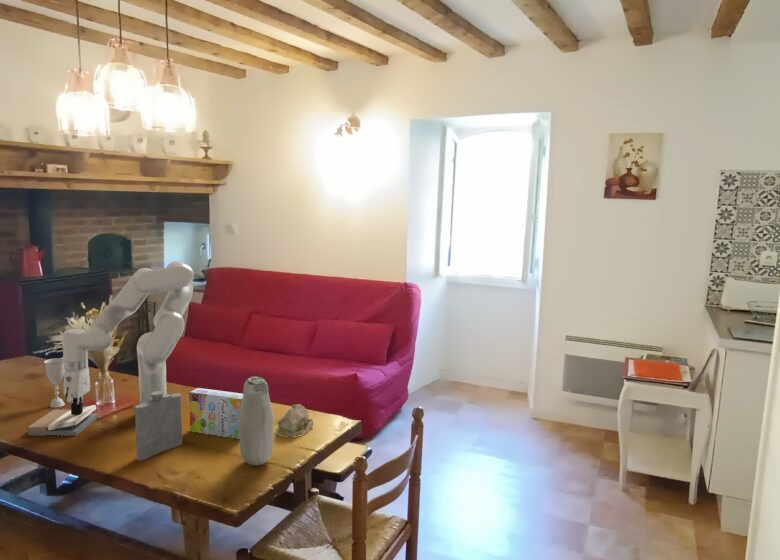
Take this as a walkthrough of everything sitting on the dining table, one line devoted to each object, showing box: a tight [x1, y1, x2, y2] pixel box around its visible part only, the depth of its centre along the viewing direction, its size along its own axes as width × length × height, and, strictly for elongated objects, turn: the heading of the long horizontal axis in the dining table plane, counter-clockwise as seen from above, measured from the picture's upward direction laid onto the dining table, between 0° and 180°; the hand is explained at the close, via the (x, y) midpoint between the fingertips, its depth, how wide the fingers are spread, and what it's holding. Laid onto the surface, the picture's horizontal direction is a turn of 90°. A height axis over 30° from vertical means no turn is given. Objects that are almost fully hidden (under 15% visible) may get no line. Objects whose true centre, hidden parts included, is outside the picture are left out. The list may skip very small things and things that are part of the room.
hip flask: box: [134, 391, 183, 462], centre depth 181 cm, size 16×4×20 cm, turn 146°
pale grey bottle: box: [239, 376, 274, 466], centre depth 174 cm, size 10×10×28 cm
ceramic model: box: [274, 403, 314, 438], centre depth 201 cm, size 14×11×10 cm
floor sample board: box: [27, 409, 99, 437], centre depth 198 cm, size 16×16×3 cm
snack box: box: [189, 387, 243, 440], centre depth 196 cm, size 21×6×15 cm, turn 74°
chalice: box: [43, 357, 66, 409], centre depth 216 cm, size 7×7×18 cm
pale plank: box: [47, 404, 97, 430], centre depth 198 cm, size 10×15×2 cm, turn 3°
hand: (76, 413), depth 198 cm, fingers closed
